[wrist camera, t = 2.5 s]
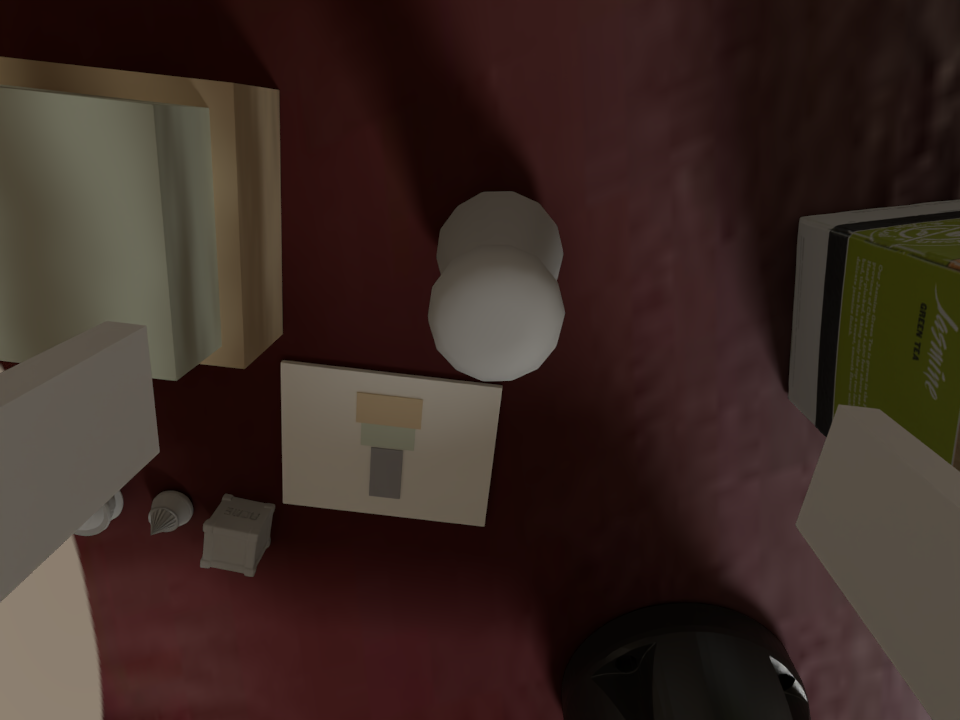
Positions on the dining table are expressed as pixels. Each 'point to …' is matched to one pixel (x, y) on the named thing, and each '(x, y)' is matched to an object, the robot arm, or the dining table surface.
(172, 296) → the zigzag patterned box
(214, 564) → the toy set
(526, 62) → the dining table surface
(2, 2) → the dining table surface
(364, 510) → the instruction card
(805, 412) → the tea box
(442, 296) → the salt shaker
